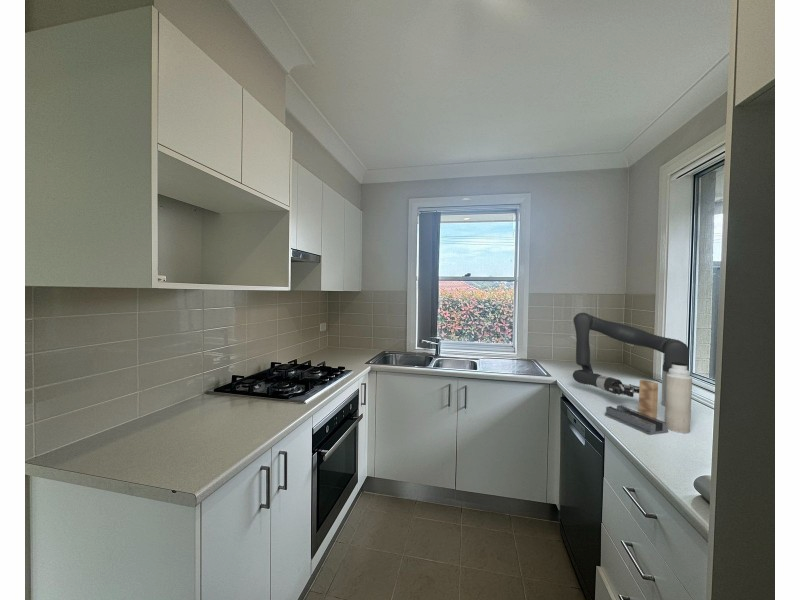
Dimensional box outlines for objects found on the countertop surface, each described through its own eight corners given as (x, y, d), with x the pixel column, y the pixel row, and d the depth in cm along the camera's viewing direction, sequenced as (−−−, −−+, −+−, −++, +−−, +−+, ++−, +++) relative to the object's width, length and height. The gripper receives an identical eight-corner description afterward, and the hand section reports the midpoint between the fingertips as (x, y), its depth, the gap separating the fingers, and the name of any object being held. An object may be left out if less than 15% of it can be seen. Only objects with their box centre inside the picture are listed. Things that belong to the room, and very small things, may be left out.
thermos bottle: (687, 427, 132) (689, 361, 131) (692, 435, 125) (695, 365, 124) (662, 423, 136) (665, 359, 135) (666, 430, 129) (668, 362, 128)
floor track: (604, 415, 144) (604, 406, 144) (621, 413, 146) (621, 405, 146) (649, 435, 124) (649, 425, 124) (668, 432, 127) (668, 422, 127)
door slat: (638, 414, 146) (639, 380, 145) (643, 413, 147) (644, 379, 146) (651, 419, 140) (653, 383, 140) (656, 418, 141) (658, 383, 140)
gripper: (598, 377, 160) (628, 387, 145) (620, 376, 164) (652, 385, 148) (597, 392, 161) (628, 403, 145) (619, 390, 164) (651, 401, 148)
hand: (640, 394), depth 147 cm, fingers open, 8 cm apart
